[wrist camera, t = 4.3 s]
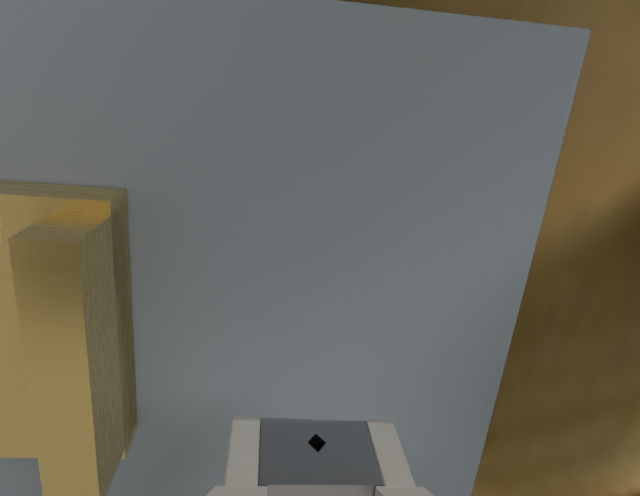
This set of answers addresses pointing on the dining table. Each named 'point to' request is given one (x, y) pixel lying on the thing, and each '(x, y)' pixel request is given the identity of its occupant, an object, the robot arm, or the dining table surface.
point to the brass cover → (66, 333)
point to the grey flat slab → (299, 209)
